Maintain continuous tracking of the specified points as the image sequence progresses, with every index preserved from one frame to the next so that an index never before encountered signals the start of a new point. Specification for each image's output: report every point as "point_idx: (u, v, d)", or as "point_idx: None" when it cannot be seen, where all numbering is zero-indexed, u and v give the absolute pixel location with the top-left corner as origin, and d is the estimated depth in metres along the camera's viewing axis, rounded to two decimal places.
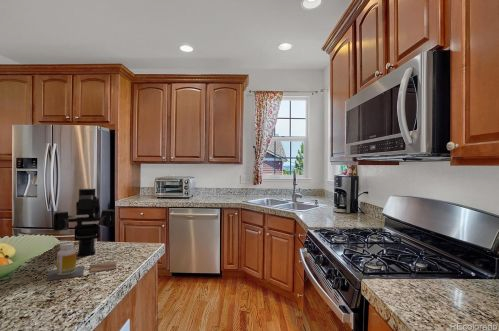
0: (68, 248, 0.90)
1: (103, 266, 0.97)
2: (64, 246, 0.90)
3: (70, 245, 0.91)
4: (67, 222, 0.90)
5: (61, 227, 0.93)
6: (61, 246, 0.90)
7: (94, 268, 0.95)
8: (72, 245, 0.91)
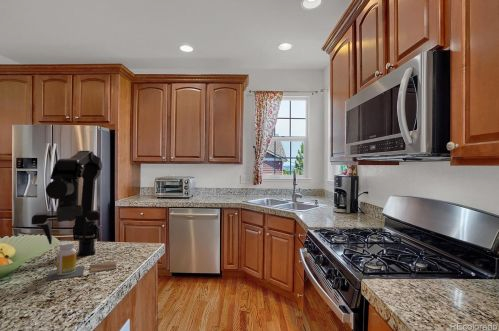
0: (68, 248, 0.90)
1: (103, 266, 0.97)
2: (64, 246, 0.90)
3: (70, 245, 0.91)
4: (49, 240, 0.89)
5: None
6: (61, 246, 0.90)
7: (94, 268, 0.95)
8: (72, 245, 0.91)
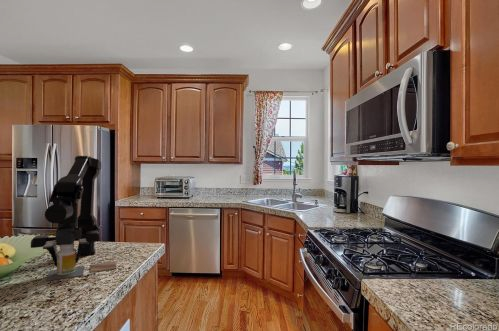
0: (68, 248, 0.90)
1: (103, 266, 0.97)
2: (64, 246, 0.90)
3: (70, 245, 0.91)
4: (55, 262, 0.89)
5: None
6: (61, 246, 0.90)
7: (94, 268, 0.95)
8: (72, 245, 0.91)
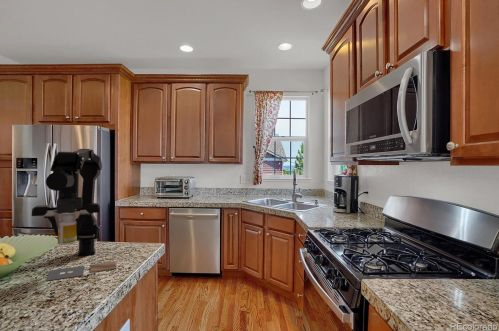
0: (69, 218, 0.90)
1: (103, 266, 0.97)
2: (65, 216, 0.90)
3: (71, 215, 0.91)
4: (56, 232, 0.90)
5: None
6: (62, 216, 0.90)
7: (94, 268, 0.95)
8: (73, 216, 0.92)
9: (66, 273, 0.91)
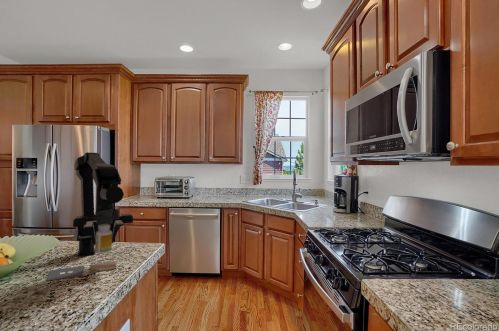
0: (106, 228, 0.97)
1: (103, 266, 0.97)
2: (102, 226, 0.96)
3: (107, 226, 0.97)
4: (94, 241, 0.96)
5: None
6: (99, 226, 0.96)
7: (94, 268, 0.95)
8: (109, 226, 0.98)
9: (66, 273, 0.91)
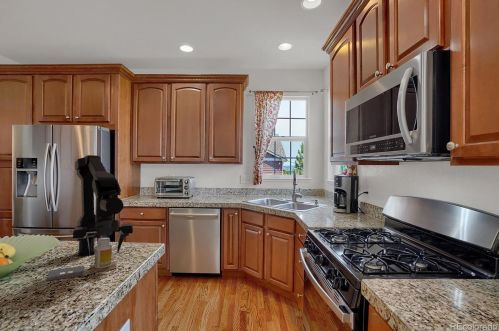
0: (105, 243, 0.96)
1: None
2: (101, 241, 0.96)
3: (107, 240, 0.97)
4: (88, 253, 0.95)
5: None
6: (99, 241, 0.96)
7: (94, 268, 0.95)
8: (108, 240, 0.98)
9: (66, 273, 0.91)
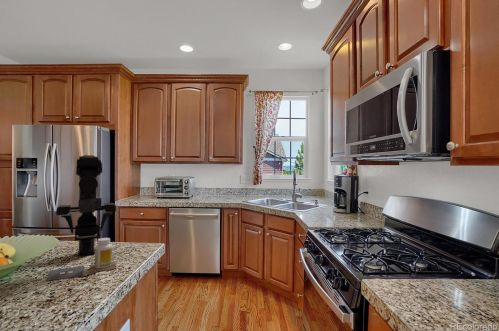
0: (105, 243, 0.96)
1: None
2: (102, 241, 0.96)
3: (107, 240, 0.97)
4: (71, 230, 0.98)
5: None
6: (99, 241, 0.96)
7: (94, 268, 0.95)
8: (108, 240, 0.98)
9: (66, 273, 0.91)
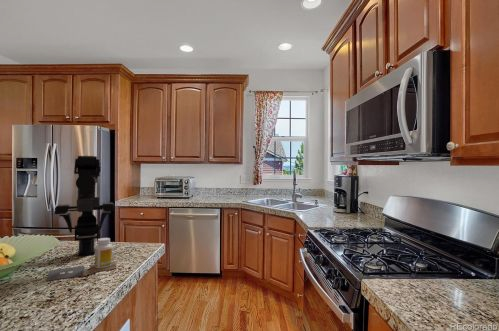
0: (105, 243, 0.96)
1: None
2: (102, 241, 0.96)
3: (107, 240, 0.97)
4: (70, 229, 0.98)
5: None
6: (99, 241, 0.96)
7: (94, 268, 0.95)
8: (108, 240, 0.98)
9: (66, 273, 0.91)
